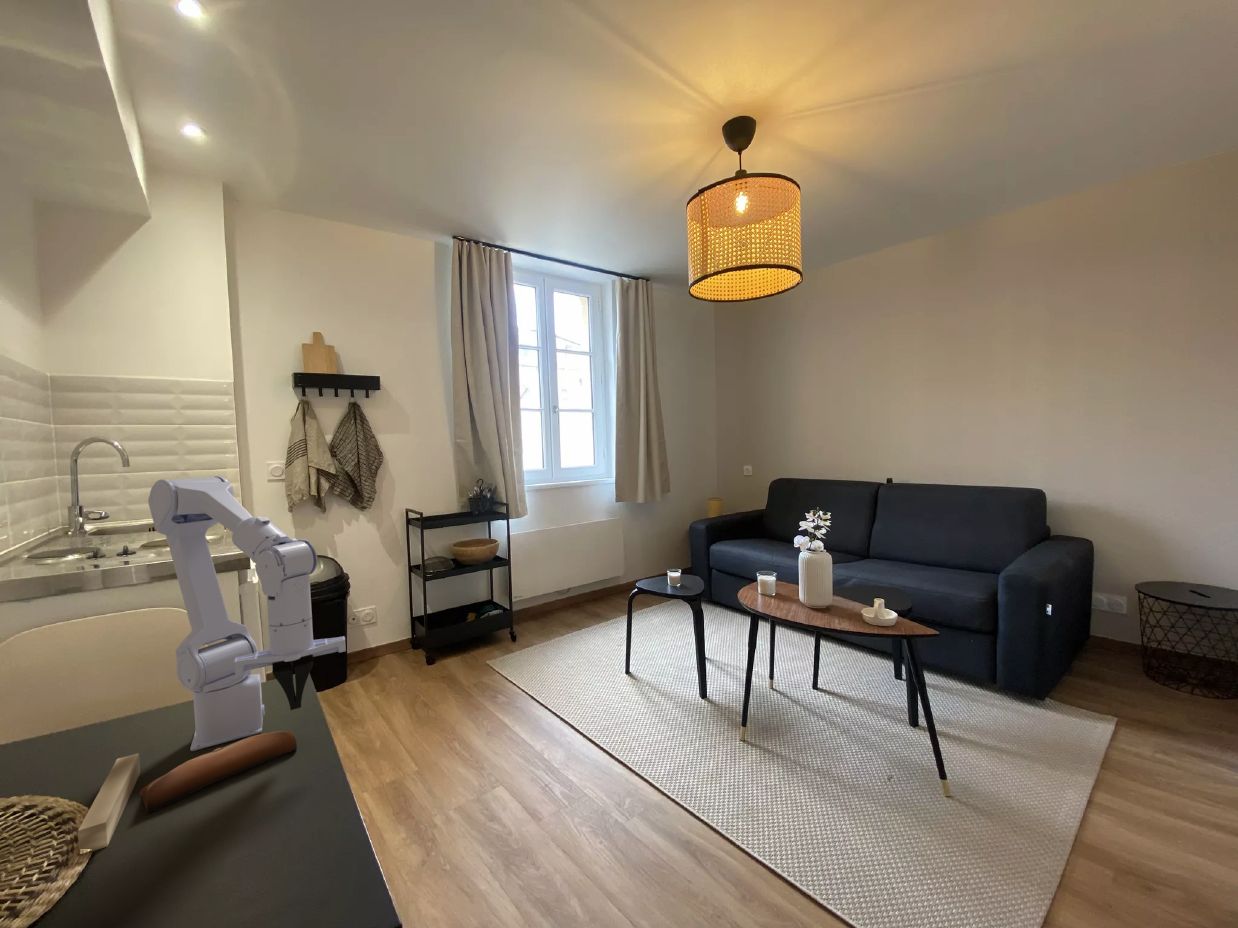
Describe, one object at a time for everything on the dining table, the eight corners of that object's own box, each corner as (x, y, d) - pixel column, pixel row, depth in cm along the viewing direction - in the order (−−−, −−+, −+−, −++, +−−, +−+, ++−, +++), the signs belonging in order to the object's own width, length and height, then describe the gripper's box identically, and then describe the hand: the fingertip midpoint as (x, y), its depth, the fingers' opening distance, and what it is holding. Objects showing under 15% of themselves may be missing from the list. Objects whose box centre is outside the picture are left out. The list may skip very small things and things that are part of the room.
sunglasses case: (278, 734, 87) (284, 706, 85) (293, 768, 84) (299, 740, 81) (133, 792, 74) (135, 760, 71) (144, 835, 70) (146, 804, 67)
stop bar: (140, 772, 78) (138, 752, 78) (107, 845, 63) (105, 821, 63) (118, 778, 77) (117, 758, 77) (79, 855, 62) (78, 830, 62)
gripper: (229, 637, 74) (235, 732, 74) (344, 617, 81) (349, 702, 82) (235, 624, 80) (240, 712, 80) (342, 606, 87) (346, 686, 88)
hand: (295, 706), depth 81 cm, fingers closed
